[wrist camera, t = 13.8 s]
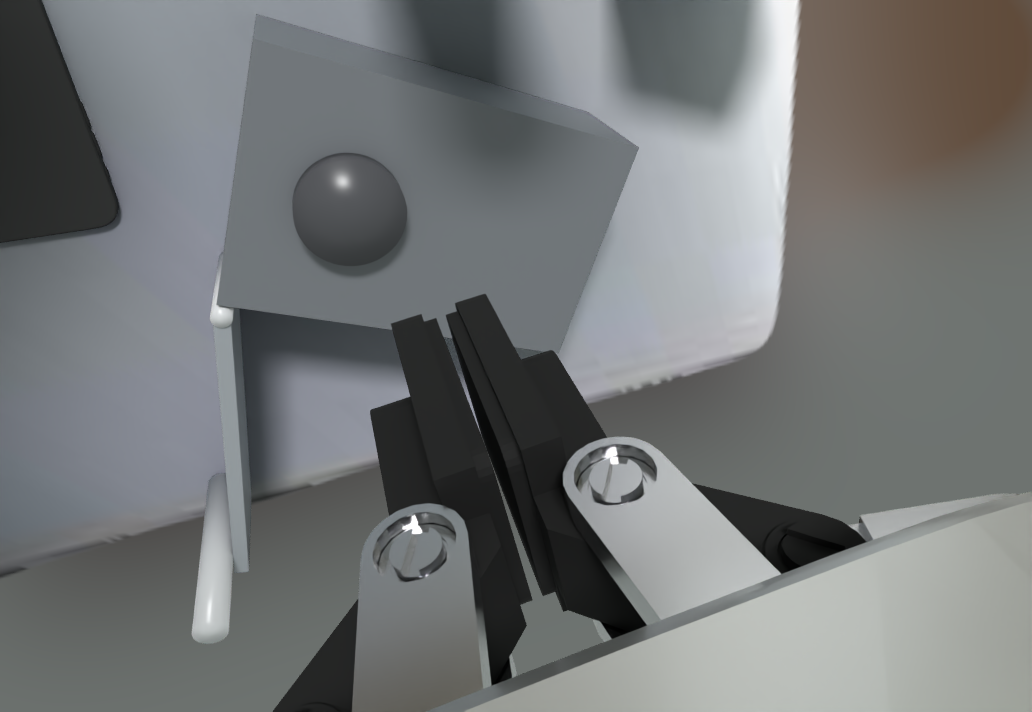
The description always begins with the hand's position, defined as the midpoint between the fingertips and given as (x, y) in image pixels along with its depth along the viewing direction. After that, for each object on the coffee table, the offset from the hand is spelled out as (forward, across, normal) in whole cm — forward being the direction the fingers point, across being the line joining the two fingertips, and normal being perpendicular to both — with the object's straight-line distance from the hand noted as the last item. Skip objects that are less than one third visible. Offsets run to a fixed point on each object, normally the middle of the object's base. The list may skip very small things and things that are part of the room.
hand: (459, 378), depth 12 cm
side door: (+29, +13, +16) cm, 35 cm away
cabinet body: (+29, -2, +7) cm, 30 cm away
